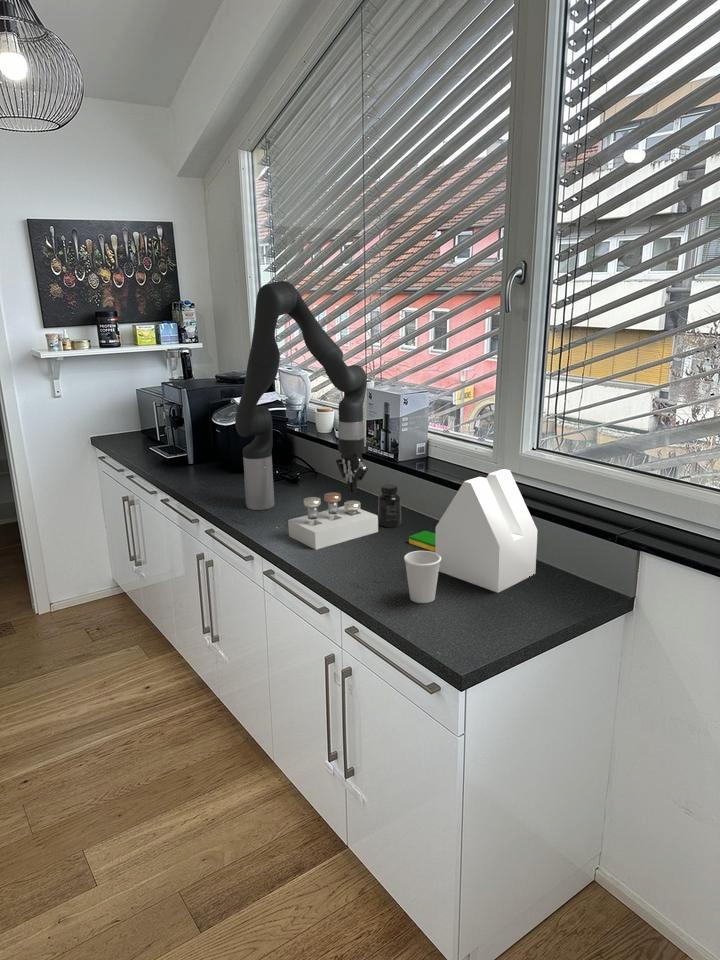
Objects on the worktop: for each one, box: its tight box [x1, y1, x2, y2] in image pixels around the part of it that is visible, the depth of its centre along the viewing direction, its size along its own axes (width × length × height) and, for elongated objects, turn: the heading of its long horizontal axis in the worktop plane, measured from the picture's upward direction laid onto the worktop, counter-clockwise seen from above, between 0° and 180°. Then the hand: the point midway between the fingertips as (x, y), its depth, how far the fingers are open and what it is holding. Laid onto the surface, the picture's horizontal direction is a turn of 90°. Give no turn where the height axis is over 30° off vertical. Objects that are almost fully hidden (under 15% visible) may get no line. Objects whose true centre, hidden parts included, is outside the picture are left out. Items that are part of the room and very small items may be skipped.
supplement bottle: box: [377, 483, 402, 528], centre depth 203 cm, size 7×7×12 cm
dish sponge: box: [408, 530, 436, 553], centre depth 186 cm, size 7×14×2 cm, turn 43°
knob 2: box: [343, 500, 362, 516], centre depth 200 cm, size 5×5×6 cm
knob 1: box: [303, 496, 322, 520], centre depth 190 cm, size 5×5×6 cm
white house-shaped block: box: [434, 468, 538, 594], centre depth 165 cm, size 19×15×25 cm
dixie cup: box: [403, 550, 441, 604], centre depth 153 cm, size 8×8×10 cm
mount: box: [287, 505, 379, 550], centre depth 196 cm, size 14×22×5 cm, turn 127°
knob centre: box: [323, 491, 342, 514], centre depth 194 cm, size 5×5×6 cm
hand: (352, 493), depth 198 cm, fingers closed
